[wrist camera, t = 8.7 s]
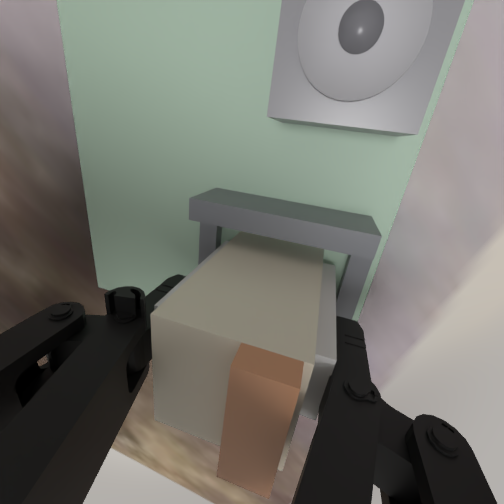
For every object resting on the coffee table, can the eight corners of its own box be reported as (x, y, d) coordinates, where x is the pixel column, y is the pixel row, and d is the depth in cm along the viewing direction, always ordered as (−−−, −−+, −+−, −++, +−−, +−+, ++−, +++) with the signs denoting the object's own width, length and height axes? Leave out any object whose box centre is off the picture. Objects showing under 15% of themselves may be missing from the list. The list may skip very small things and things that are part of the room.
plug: (241, 230, 14) (130, 332, 6) (324, 248, 13) (311, 393, 6) (233, 299, 16) (139, 443, 8) (305, 319, 15) (277, 502, 7)
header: (201, 306, 18) (178, 335, 15) (208, 185, 14) (178, 195, 12) (339, 345, 16) (340, 387, 13) (382, 218, 12) (396, 239, 10)
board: (110, 279, 21) (98, 287, 20) (73, -24, 13) (50, -39, 12) (342, 346, 17) (343, 360, 16) (472, -22, 10) (489, -43, 9)
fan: (281, 122, 12) (263, 115, 9) (303, -23, 10) (289, -98, 7) (397, 136, 11) (422, 134, 8) (448, -23, 9) (510, -110, 6)
